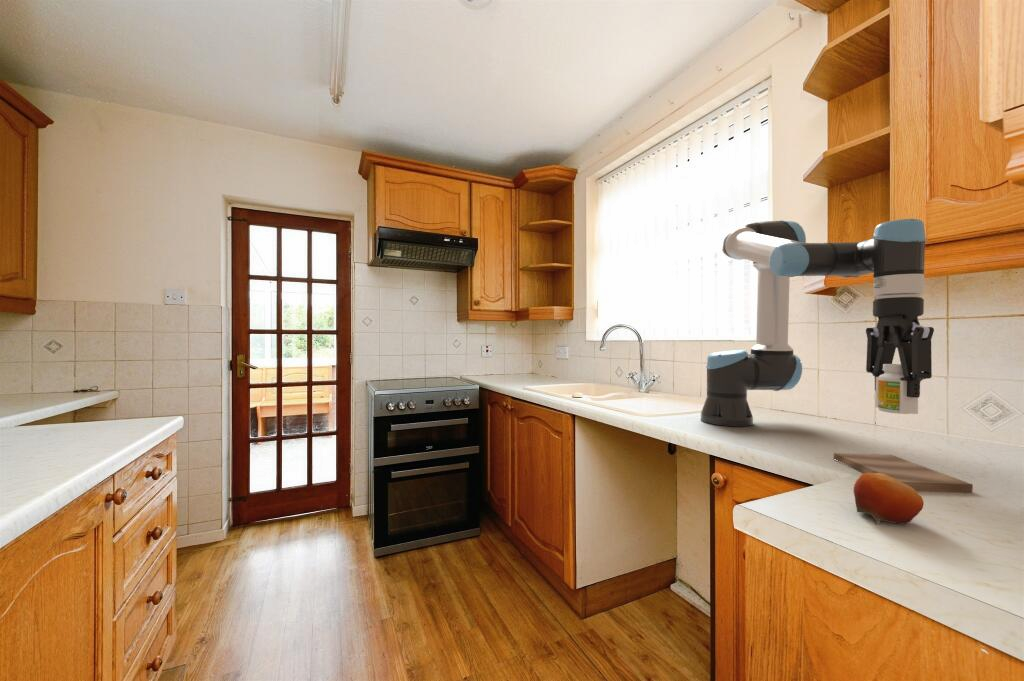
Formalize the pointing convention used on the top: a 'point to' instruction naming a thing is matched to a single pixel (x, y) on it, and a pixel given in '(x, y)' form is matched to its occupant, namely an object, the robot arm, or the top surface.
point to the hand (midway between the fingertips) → (895, 410)
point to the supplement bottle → (890, 388)
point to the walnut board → (904, 472)
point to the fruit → (886, 498)
